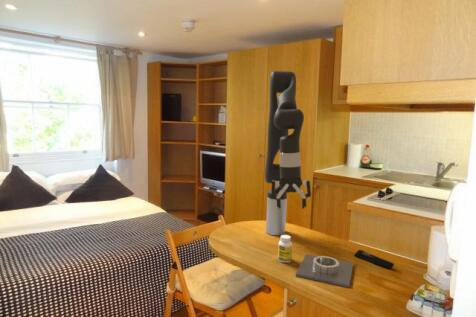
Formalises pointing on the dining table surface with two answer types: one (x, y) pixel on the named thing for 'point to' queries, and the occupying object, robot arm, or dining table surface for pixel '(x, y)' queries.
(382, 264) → the electric trimmer
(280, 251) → the supplement bottle
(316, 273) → the collar plate
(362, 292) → the dining table surface
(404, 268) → the dining table surface
